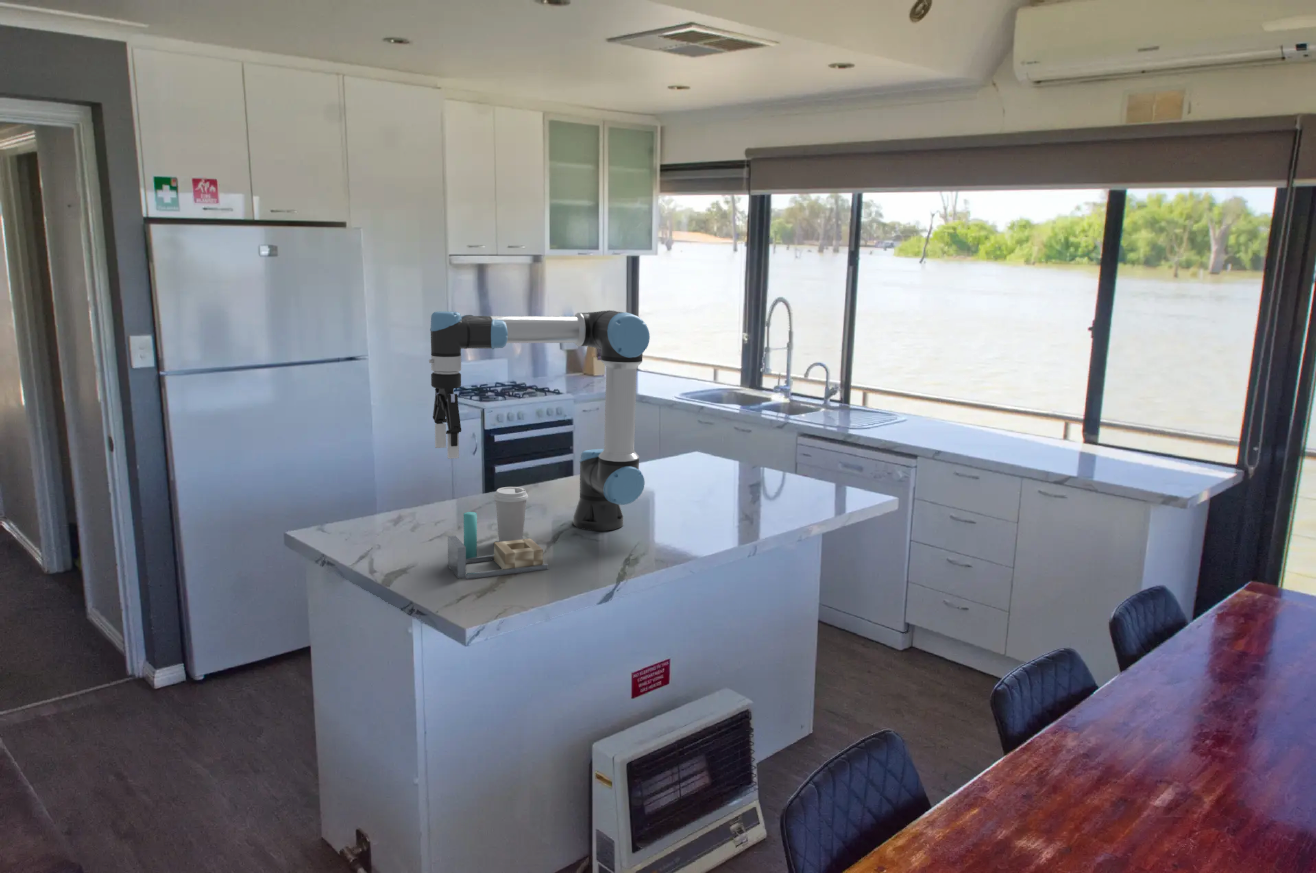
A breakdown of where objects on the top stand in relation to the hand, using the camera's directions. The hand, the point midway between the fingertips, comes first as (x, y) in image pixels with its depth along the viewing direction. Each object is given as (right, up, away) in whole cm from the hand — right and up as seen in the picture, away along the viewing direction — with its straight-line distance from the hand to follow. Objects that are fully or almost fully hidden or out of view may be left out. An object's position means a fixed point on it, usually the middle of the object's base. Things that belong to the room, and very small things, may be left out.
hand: (446, 452), depth 242 cm
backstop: (+14, -29, -2) cm, 33 cm away
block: (+19, -29, 0) cm, 35 cm away
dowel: (+5, -28, +4) cm, 29 cm away
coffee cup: (+14, -26, +19) cm, 35 cm away
